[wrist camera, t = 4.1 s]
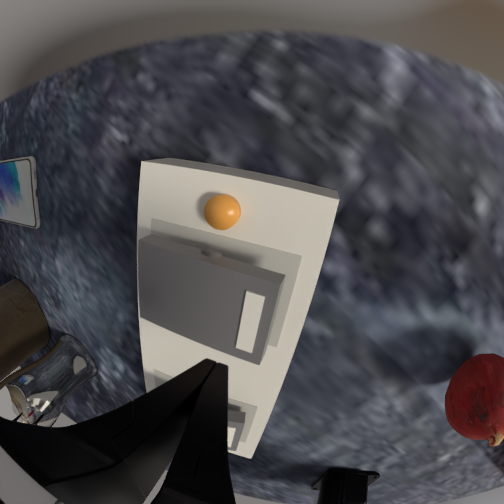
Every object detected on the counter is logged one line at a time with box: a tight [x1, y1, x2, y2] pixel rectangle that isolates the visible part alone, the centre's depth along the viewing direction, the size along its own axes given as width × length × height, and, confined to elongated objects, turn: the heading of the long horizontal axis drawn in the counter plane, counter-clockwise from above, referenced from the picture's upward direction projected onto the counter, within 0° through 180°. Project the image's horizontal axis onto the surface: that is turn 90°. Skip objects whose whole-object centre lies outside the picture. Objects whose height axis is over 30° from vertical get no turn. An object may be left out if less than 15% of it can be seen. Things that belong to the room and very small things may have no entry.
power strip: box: [137, 158, 339, 459], centre depth 20 cm, size 30×10×4 cm, turn 171°
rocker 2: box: [227, 410, 246, 451], centre depth 18 cm, size 5×7×2 cm, turn 81°
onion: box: [445, 353, 504, 446], centre depth 12 cm, size 6×6×8 cm
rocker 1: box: [138, 234, 286, 365], centre depth 14 cm, size 5×7×2 cm, turn 81°
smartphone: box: [0, 156, 40, 229], centre depth 22 cm, size 7×1×15 cm
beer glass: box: [0, 335, 97, 427], centre depth 21 cm, size 7×7×15 cm
